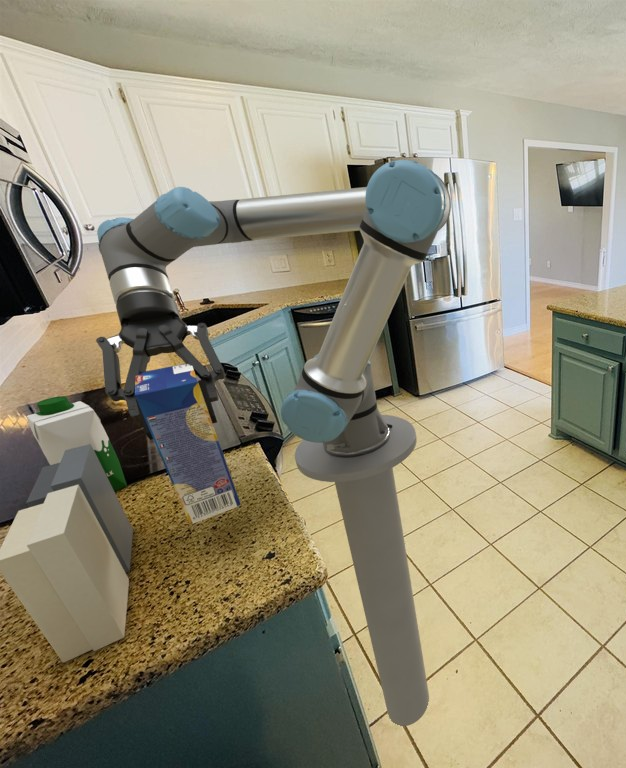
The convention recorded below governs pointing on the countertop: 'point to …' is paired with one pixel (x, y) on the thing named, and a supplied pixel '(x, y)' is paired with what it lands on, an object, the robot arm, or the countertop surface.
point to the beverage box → (186, 440)
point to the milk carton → (74, 434)
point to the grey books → (89, 496)
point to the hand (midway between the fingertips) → (183, 427)
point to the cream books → (66, 574)
